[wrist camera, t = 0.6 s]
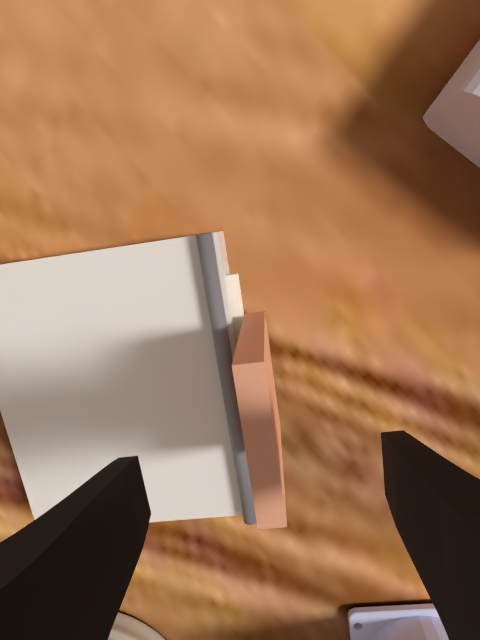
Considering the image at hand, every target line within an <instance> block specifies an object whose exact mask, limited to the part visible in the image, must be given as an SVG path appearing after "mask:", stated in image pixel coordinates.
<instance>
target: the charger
mask: <svg viewBox="0 0 480 640" xmlns="http://www.w3.org/2000/svg"><path fill="white" fill-rule="evenodd" d="M423 120H424V123H425V124H426V125H427V127H428V128H429V129H430V130H432V131H433V132H434V133H435V134H437V135H438V136H439V137H440V138H442V139H443V140H444V141H446V142H447V143H448V144H449V145H451V146H452V147H453V148H455V149H456V150H457V151H458V152H460V153H461V154H462V155H464V156H465V157H466V158H467V159H469V160H470V161H471V162H473V163H474V164H475V165H476V166H478V167H479V168H480V40H479V41H478V42H477V44H476V45H475V46H474V48H473V49H472V50H471V52H470V53H469V54H468V56H467V57H466V58H465V60H464V61H463V63H462V64H461V65H460V67H459V68H458V69H457V71H456V72H455V73H454V75H453V76H452V77H451V79H450V80H449V81H448V83H447V84H446V86H445V87H444V88H443V90H442V91H441V92H440V94H439V95H438V96H437V98H436V99H435V100H434V102H433V103H432V104H431V106H430V107H429V109H428V110H427V111H426V113H425V114H424V115H423Z"/></svg>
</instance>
